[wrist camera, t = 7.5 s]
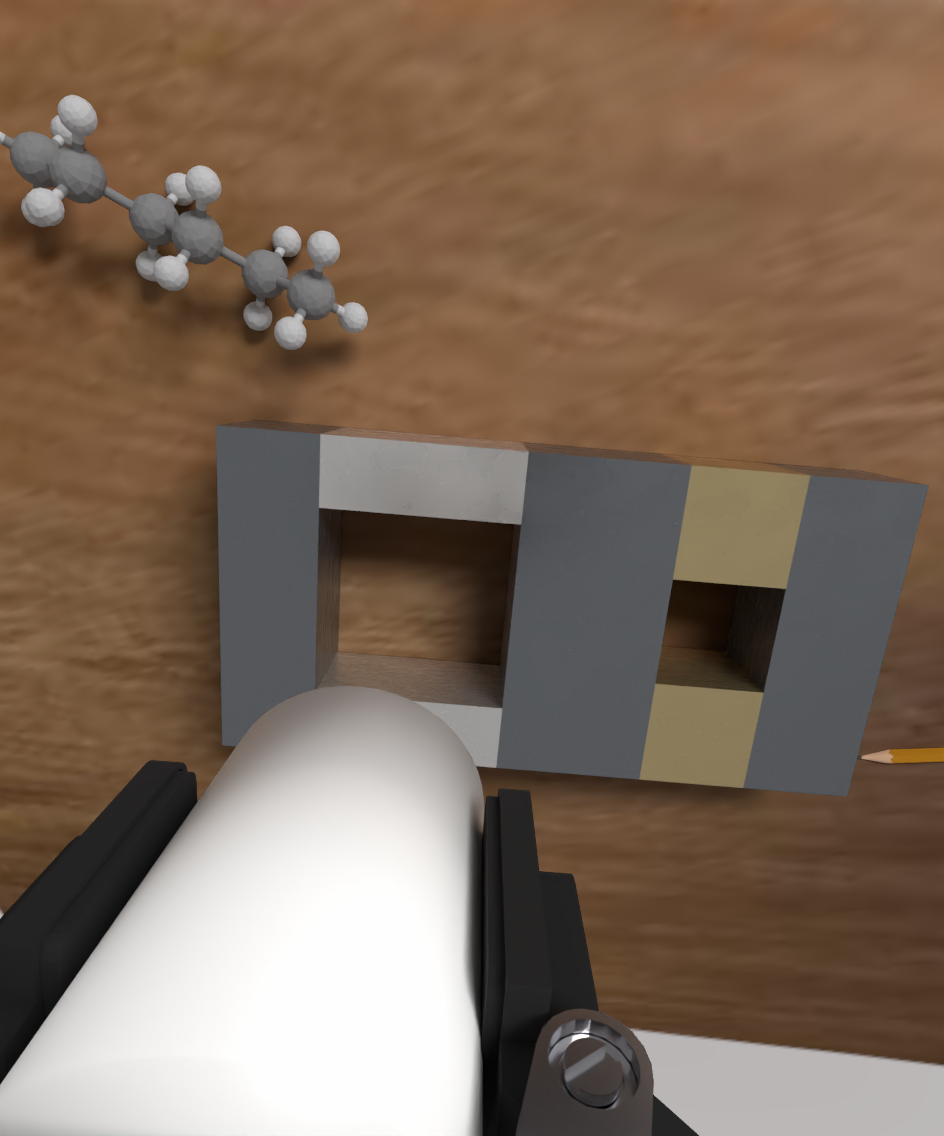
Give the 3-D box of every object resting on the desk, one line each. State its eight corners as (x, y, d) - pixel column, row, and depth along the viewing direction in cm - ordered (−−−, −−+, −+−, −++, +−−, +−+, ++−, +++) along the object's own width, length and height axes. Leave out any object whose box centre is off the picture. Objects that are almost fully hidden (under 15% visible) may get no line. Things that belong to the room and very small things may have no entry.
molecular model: (12, 212, 24) (-104, 167, 20) (44, 93, 23) (-71, 16, 19) (353, 378, 26) (323, 375, 21) (397, 273, 25) (376, 244, 20)
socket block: (255, 420, 26) (216, 425, 22) (862, 471, 26) (928, 485, 22) (256, 698, 29) (222, 745, 25) (799, 742, 29) (846, 796, 25)
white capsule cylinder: (223, 674, 12) (-104, 1032, 5) (494, 697, 12) (506, 1083, 5) (227, 900, 13) (-32, 1416, 7) (472, 921, 13) (460, 1457, 7)
